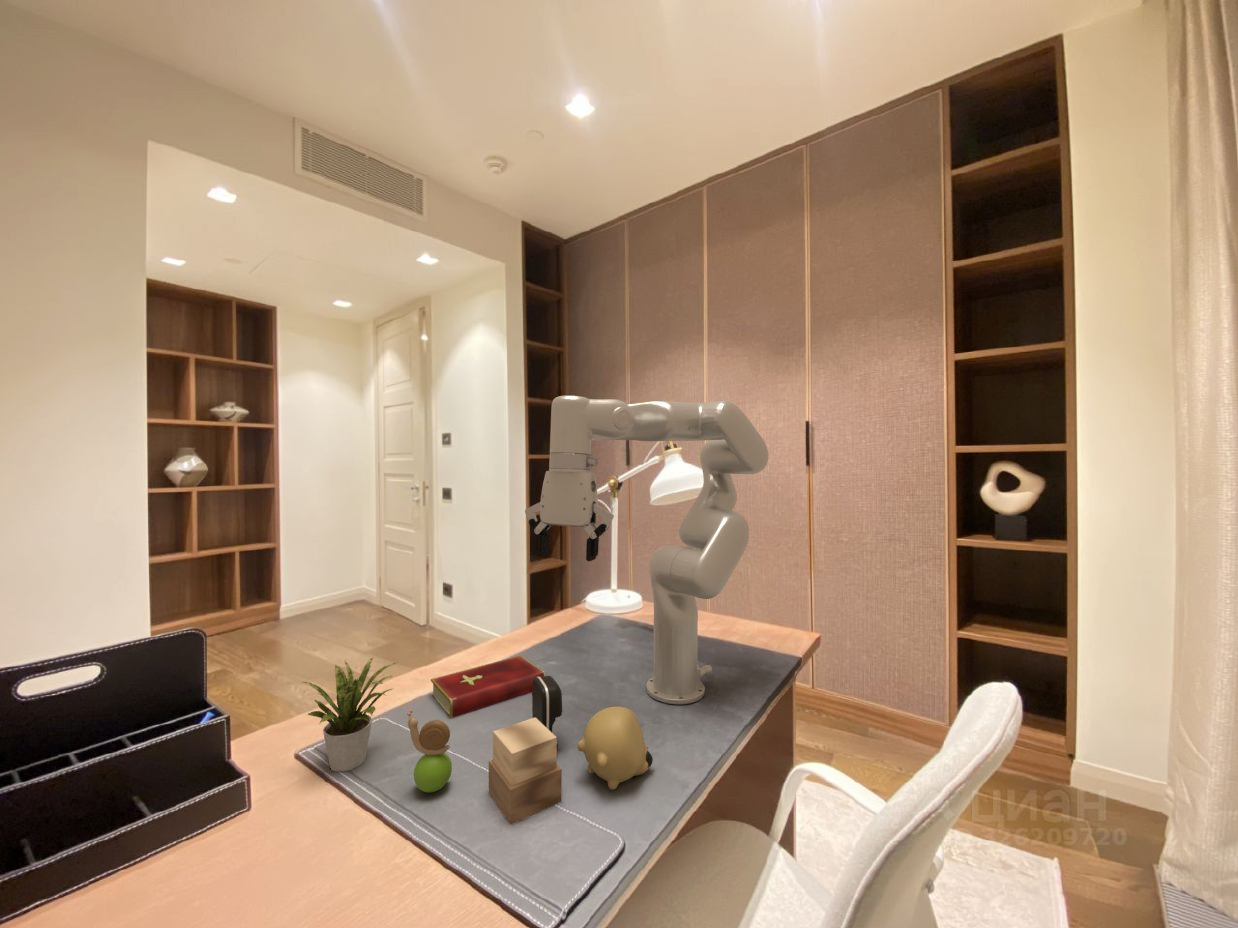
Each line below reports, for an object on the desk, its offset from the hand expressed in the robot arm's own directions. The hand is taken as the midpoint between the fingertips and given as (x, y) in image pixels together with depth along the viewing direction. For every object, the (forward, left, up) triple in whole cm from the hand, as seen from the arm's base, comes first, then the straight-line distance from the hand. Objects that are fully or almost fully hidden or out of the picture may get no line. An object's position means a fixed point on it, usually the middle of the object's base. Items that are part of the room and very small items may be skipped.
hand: (566, 557), depth 90 cm
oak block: (+13, +11, -28) cm, 33 cm away
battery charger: (+5, +1, -33) cm, 33 cm away
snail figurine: (+24, +1, -33) cm, 41 cm away
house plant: (+33, -13, -33) cm, 48 cm away
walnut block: (+14, +11, -33) cm, 37 cm away
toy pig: (-1, +15, -33) cm, 36 cm away
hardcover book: (+6, -24, -33) cm, 41 cm away
